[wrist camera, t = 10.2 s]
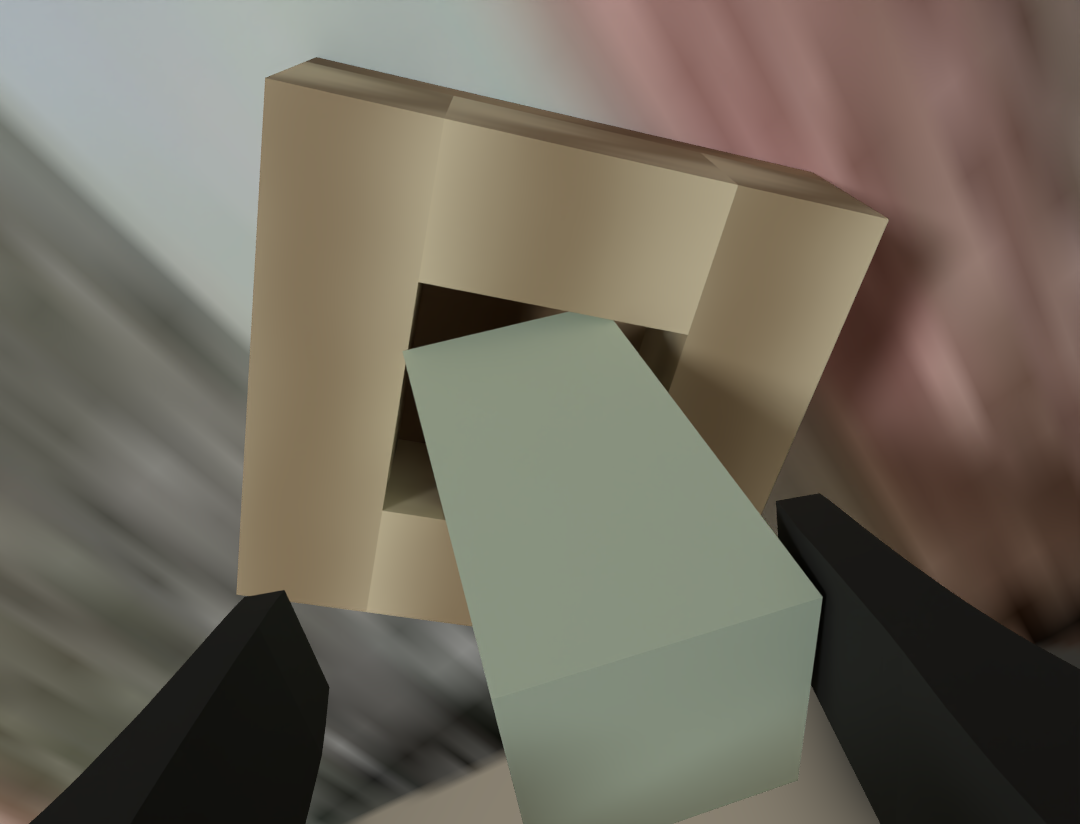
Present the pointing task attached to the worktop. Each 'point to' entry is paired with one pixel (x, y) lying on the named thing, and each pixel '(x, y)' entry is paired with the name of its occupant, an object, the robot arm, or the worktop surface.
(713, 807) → the sage peg
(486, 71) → the worktop surface
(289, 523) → the well block
